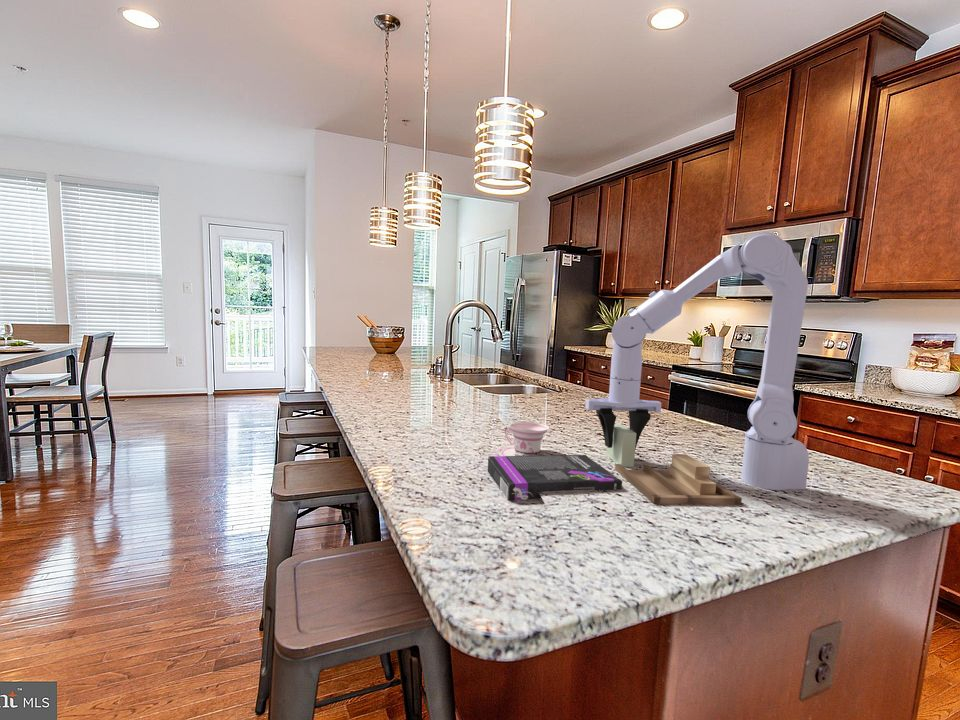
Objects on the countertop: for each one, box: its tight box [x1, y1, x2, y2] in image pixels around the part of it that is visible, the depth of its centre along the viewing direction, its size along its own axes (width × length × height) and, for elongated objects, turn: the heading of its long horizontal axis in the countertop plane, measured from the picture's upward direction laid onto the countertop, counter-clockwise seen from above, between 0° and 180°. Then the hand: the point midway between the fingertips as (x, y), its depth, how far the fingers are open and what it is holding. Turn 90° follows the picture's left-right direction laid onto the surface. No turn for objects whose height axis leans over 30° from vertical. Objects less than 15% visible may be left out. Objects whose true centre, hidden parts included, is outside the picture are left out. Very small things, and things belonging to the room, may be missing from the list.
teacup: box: [497, 421, 550, 456], centre depth 98 cm, size 12×12×6 cm
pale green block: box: [606, 422, 636, 468], centre depth 94 cm, size 2×8×7 cm, turn 5°
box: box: [487, 454, 623, 501], centre depth 82 cm, size 14×4×20 cm
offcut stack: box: [669, 453, 717, 496], centre depth 81 cm, size 3×10×4 cm, turn 5°
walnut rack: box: [614, 463, 743, 506], centre depth 81 cm, size 14×16×2 cm
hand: (620, 446), depth 94 cm, fingers open, 4 cm apart
